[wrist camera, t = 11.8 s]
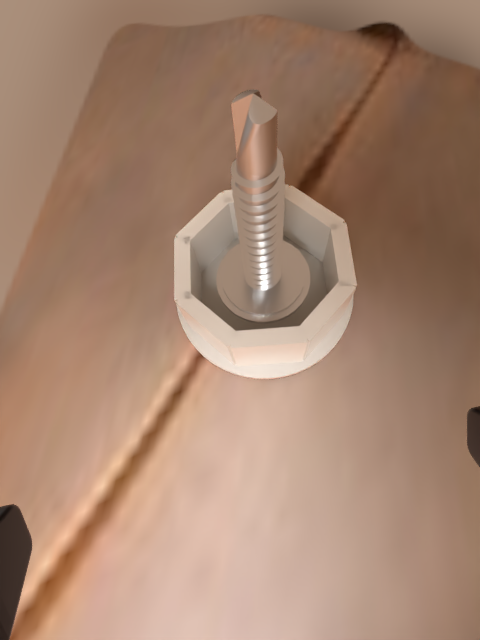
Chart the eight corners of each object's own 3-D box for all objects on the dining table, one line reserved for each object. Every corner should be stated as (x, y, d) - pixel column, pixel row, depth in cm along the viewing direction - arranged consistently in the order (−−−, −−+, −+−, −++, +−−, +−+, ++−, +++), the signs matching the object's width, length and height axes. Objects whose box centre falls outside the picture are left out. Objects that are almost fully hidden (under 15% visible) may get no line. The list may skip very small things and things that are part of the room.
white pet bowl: (338, 212, 25) (350, 167, 21) (365, 372, 21) (385, 352, 18) (178, 227, 25) (161, 185, 22) (178, 385, 22) (158, 368, 18)
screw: (297, 343, 22) (211, 323, 22) (315, 264, 23) (233, 249, 24) (328, 182, 9) (136, 151, 10) (361, 38, 11) (192, 21, 12)
